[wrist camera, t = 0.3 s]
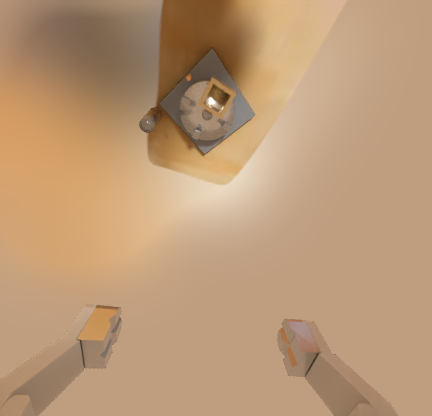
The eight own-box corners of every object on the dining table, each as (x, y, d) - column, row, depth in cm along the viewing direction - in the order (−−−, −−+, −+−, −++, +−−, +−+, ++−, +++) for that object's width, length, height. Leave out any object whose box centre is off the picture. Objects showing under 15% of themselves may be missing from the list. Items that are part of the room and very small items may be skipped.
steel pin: (154, 104, 50) (144, 116, 44) (163, 114, 52) (155, 127, 45) (147, 112, 52) (136, 125, 45) (156, 122, 53) (147, 135, 46)
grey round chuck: (216, 144, 55) (216, 155, 50) (173, 119, 51) (168, 128, 46) (246, 96, 47) (250, 104, 42) (198, 61, 43) (195, 65, 38)
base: (212, 47, 43) (211, 49, 40) (254, 113, 52) (256, 118, 48) (160, 102, 50) (156, 107, 47) (204, 151, 59) (204, 158, 56)
